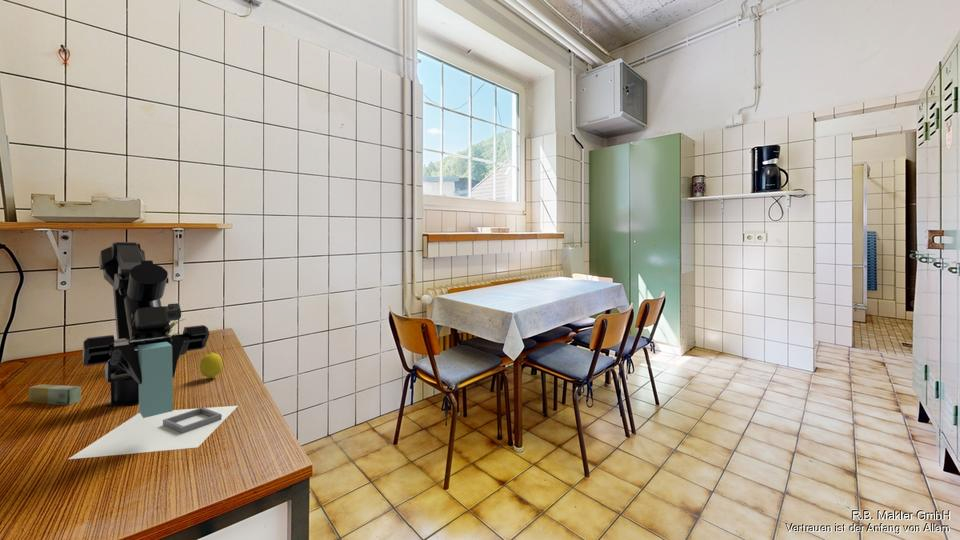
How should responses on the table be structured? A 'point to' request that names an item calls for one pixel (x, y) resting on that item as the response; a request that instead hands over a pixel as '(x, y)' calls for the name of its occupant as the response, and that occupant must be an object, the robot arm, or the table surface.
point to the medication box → (55, 394)
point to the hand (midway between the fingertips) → (157, 379)
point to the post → (155, 379)
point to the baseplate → (152, 435)
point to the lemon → (211, 365)
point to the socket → (182, 429)
